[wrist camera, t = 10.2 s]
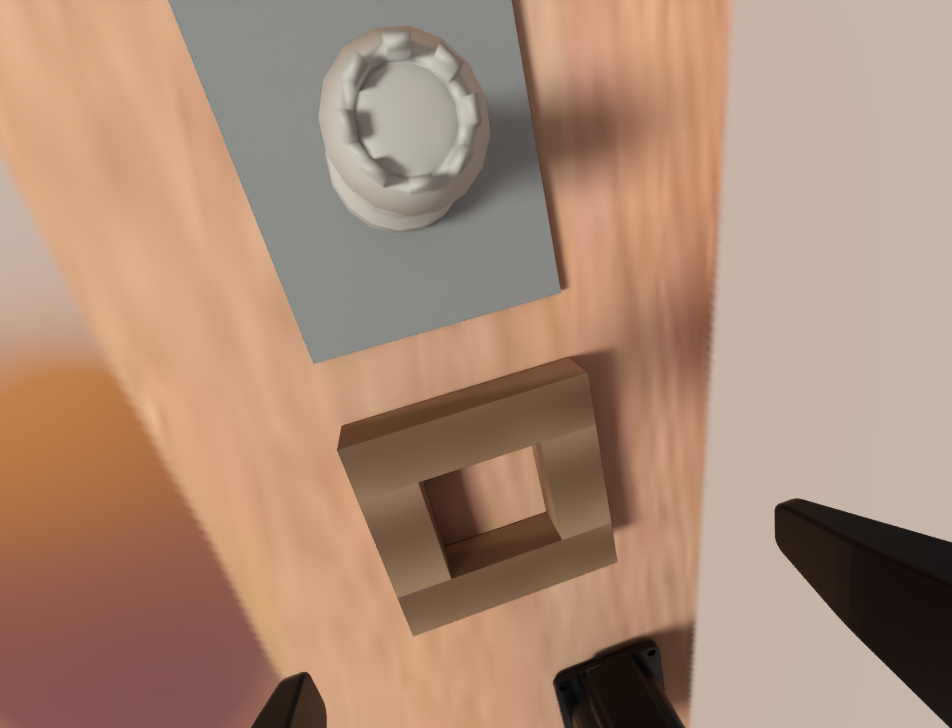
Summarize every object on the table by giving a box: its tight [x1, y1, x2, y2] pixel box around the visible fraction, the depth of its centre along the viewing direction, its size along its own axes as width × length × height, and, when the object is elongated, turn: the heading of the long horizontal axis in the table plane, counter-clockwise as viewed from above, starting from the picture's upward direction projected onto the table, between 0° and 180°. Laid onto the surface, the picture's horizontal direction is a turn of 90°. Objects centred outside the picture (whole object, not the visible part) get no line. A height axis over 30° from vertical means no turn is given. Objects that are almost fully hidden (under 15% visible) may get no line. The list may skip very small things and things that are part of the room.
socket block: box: [337, 357, 617, 636], centre depth 20 cm, size 10×10×2 cm
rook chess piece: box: [318, 25, 490, 234], centre depth 11 cm, size 4×4×8 cm
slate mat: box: [168, 0, 561, 364], centre depth 15 cm, size 12×10×1 cm
